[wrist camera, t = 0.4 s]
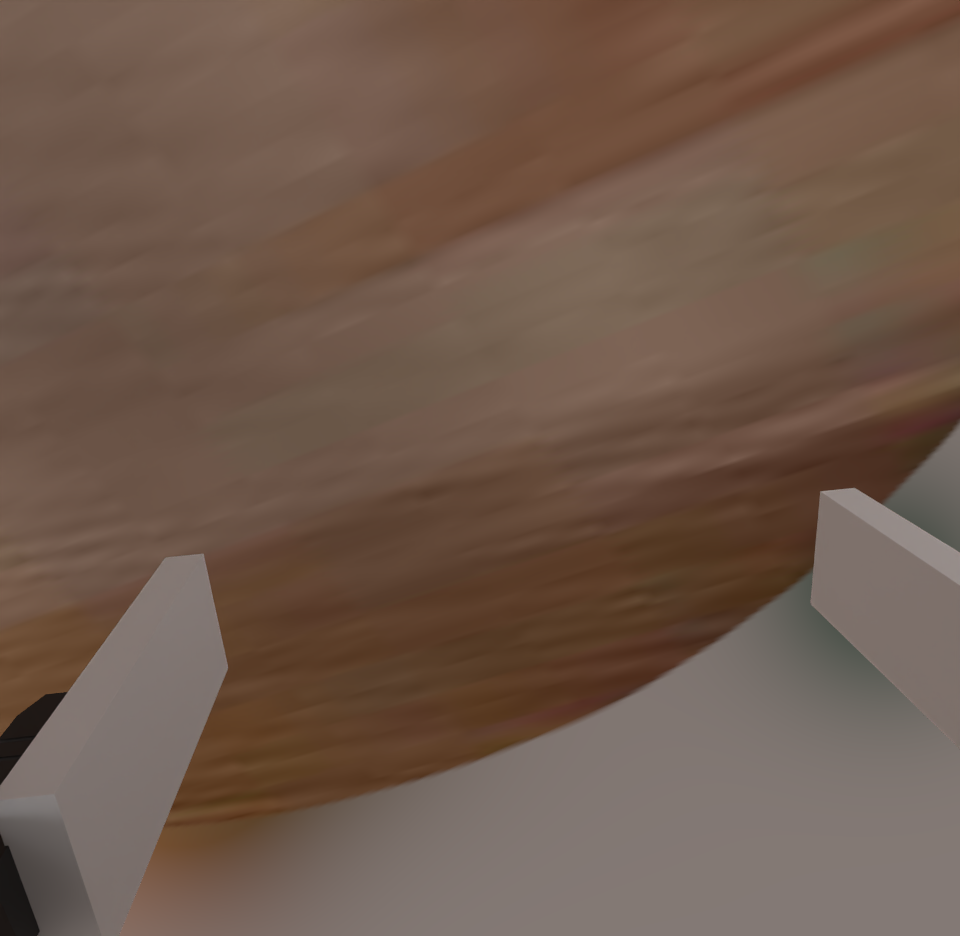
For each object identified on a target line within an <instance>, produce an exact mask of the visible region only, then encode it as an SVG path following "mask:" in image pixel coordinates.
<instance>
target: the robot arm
mask: <svg viewBox="0 0 960 936" xmlns="http://www.w3.org/2000/svg"><path fill="white" fill-rule="evenodd" d="M811 605H813V607H814V608H815V609H816V610H817V611H819V612H820V613H821V614H822V615H823V616H824V617H825V618H826V619H827V620H828V621H829V622H830V623H831V624H832V625H833V626H834V627H835V628H836V629H837V630H838V631H839V632H840V633H841V634H842V635H843V636H844V637H845V638H846V639H847V640H848V641H849V642H850V643H851V644H852V645H853V646H855V648H857V649H858V650H859V651H860V652H861V653H862V654H863V655H864V656H865V657H866V658H867V659H868V660H869V661H870V662H871V663H872V664H873V665H874V666H875V667H876V668H877V669H878V670H879V671H880V672H881V673H882V674H883V675H884V676H885V677H886V678H887V679H888V680H889V681H891V683H893V684H894V685H895V686H896V687H897V688H898V689H899V690H900V691H901V692H902V693H903V694H904V695H905V696H906V697H907V698H908V699H909V700H910V701H911V702H912V703H913V704H914V705H915V706H916V707H917V708H918V709H919V710H920V711H921V712H922V713H923V714H924V715H925V716H926V717H927V718H928V719H930V720H931V721H932V722H933V723H934V724H935V725H936V726H937V727H938V728H939V729H940V730H941V731H942V732H943V733H944V734H945V735H946V736H947V737H948V738H949V739H950V740H951V741H952V742H953V743H954V744H955V745H956V746H957V747H958V748H959V749H960V553H959V552H958V551H956V550H955V549H953V548H951V547H950V546H948V545H947V544H945V543H943V542H942V541H940V540H938V539H937V538H935V537H934V536H932V535H930V534H929V533H927V532H925V531H924V530H922V529H920V528H919V527H917V526H916V525H914V524H912V523H911V522H909V521H908V520H906V519H904V518H903V517H901V516H899V515H897V514H896V513H894V512H893V511H891V510H889V509H888V508H886V507H885V506H883V505H881V504H880V503H878V502H877V501H875V500H873V499H872V498H870V497H868V496H867V495H865V494H864V493H862V492H860V491H859V490H857V489H855V488H850V489H840V490H830V491H820V503H819V514H818V525H817V536H816V547H815V559H814V570H813V582H812V593H811ZM227 669H228V665H227V660H226V656H225V651H224V646H223V642H222V637H221V633H220V628H219V623H218V619H217V614H216V609H215V605H214V600H213V596H212V591H211V586H210V582H209V577H208V573H207V568H206V563H205V559H204V554H195V555H185V556H175V557H165V559H164V560H163V561H162V563H161V564H160V566H159V567H158V568H157V570H156V571H155V573H154V574H153V575H152V577H151V578H150V579H149V581H148V582H147V584H146V585H145V586H144V588H143V589H142V590H141V592H140V593H139V595H138V596H137V597H136V599H135V600H134V602H133V603H132V604H131V606H130V607H129V608H128V610H127V611H126V613H125V614H124V615H123V617H122V618H121V619H120V621H119V622H118V624H117V625H116V626H115V628H114V629H113V631H112V632H111V633H110V635H109V636H108V637H107V639H106V640H105V642H104V643H103V644H102V646H101V647H100V649H99V650H98V651H97V653H96V654H95V655H94V657H93V658H92V660H91V661H90V662H89V664H88V665H87V666H86V668H85V669H84V671H83V672H82V673H81V675H80V676H79V678H78V679H77V680H76V682H75V683H74V684H73V686H72V687H71V689H70V690H69V691H68V692H64V693H55V694H46V695H45V696H43V697H42V698H40V699H39V700H38V701H36V702H35V703H34V704H32V705H31V706H30V707H28V708H27V709H26V710H24V711H23V712H22V713H20V714H19V715H18V716H17V717H16V718H15V719H14V720H13V722H12V723H11V724H10V726H9V727H8V728H7V729H6V731H5V732H4V733H3V734H2V736H1V737H0V936H119V934H120V932H121V929H122V927H123V924H124V922H125V919H126V917H127V914H128V912H129V909H130V907H131V905H132V902H133V900H134V897H135V895H136V892H137V890H138V887H139V885H140V883H141V880H142V878H143V875H144V873H145V870H146V868H147V865H148V863H149V860H150V858H151V856H152V853H153V851H154V848H155V846H156V843H157V841H158V838H159V836H160V833H161V831H162V829H163V826H164V824H165V821H166V819H167V816H168V814H169V812H170V809H171V807H172V804H173V802H174V799H175V797H176V794H177V792H178V789H179V787H180V785H181V782H182V780H183V777H184V775H185V772H186V770H187V767H188V765H189V763H190V760H191V758H192V755H193V753H194V750H195V748H196V745H197V743H198V740H199V738H200V736H201V733H202V731H203V728H204V726H205V723H206V721H207V718H208V716H209V714H210V711H211V709H212V706H213V704H214V701H215V699H216V696H217V694H218V691H219V689H220V687H221V684H222V682H223V679H224V677H225V674H226V672H227Z"/></svg>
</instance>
